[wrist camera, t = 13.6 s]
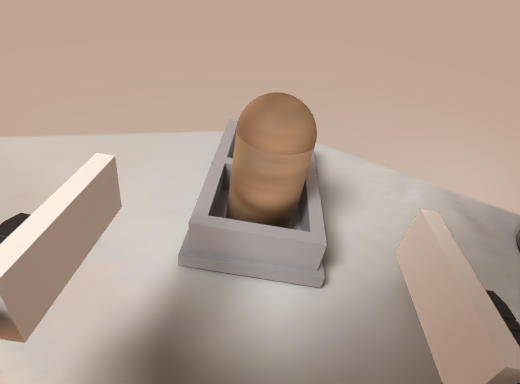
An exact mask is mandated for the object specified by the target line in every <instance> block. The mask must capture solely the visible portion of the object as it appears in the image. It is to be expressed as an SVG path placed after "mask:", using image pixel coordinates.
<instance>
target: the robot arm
mask: <svg viewBox="0 0 520 384" xmlns="http://www.w3.org/2000/svg"><path fill="white" fill-rule="evenodd" d="M121 207H122V206H121V199H120V191H119V183H118V175H117V168H116V160H115V156H113V155H107V154H101V153H96V154H95V155H94V156H93V157H92V158H91V159H90V160H88V161H87V162H86V163H85V164H84V165H83V166H82V167H81V168H80V169H79V170H78V171H77V172H76V173H75V174H74V175H73V176H72V177H71V178H69V179H68V180H67V181H66V182H65V183H64V184H63V185H62V186H61V187H60V188H59V189H58V190H57V191H56V192H55V193H54V194H53V195H52V196H50V197H49V198H48V199H47V200H46V201H45V202H44V203H43V204H42V205H41V206H40V207H39V208H38V209H37V210H36V211H35V212H34V213H33V214H25V213H20V214H18V215H16V216H14V217H12V218H10V219H8V220H6V221H4V222H3V223H2V224H0V339H5V340H11V341H17V342H23V343H25V342H26V340H27V339H28V338H29V336H30V335H31V333H32V332H33V331H34V329H35V328H36V326H37V325H38V324H39V322H40V321H41V319H42V318H43V317H44V315H45V314H46V312H47V311H48V310H49V308H50V307H51V305H52V304H53V303H54V301H55V300H56V298H57V297H58V296H59V294H60V293H61V291H62V290H63V288H64V287H65V286H66V284H67V283H68V281H69V280H70V279H71V277H72V276H73V274H74V273H75V272H76V270H77V269H78V267H79V266H80V265H81V263H82V262H83V260H84V259H85V258H86V256H87V255H88V253H89V252H90V251H91V249H92V248H93V246H94V245H95V244H96V242H97V241H98V239H99V238H100V237H101V235H102V234H103V232H104V231H105V229H106V228H107V227H108V225H109V224H110V222H111V221H112V220H113V218H114V217H115V215H116V214H117V213H118V211H119V210H120V208H121ZM517 242H518V246H519V249H520V231H519V232H518V235H517ZM395 255H396V257H397V260H398V263H399V266H400V268H401V271H402V274H403V277H404V279H405V282H406V285H407V287H408V290H409V293H410V296H411V298H412V301H413V304H414V307H415V309H416V312H417V315H418V318H419V320H420V323H421V326H422V329H423V331H424V334H425V337H426V340H427V342H428V345H429V348H430V351H431V353H432V356H433V359H434V362H435V364H436V367H437V370H438V373H439V375H440V378H441V381H442V384H520V325H519V323H518V322H516V321H515V320H516V318H515V317H514V315H513V314H512V312H511V311H510V309H509V308H508V306H507V305H506V304H505V303H504V302H503V301H502V300H501V299H500V298H499V297H498V296H497V295H496V294H495V293H494V292H493V291H489V290H485V289H484V287H483V286H482V284H481V282H480V281H479V279H478V277H477V276H476V274H475V272H474V271H473V269H472V267H471V266H470V264H469V262H468V261H467V259H466V257H465V256H464V254H463V252H462V251H461V249H460V247H459V246H458V244H457V242H456V241H455V239H454V237H453V236H452V234H451V232H450V231H449V229H448V227H447V226H446V224H445V223H444V221H443V219H442V218H441V216H440V214H439V213H438V212H437V211H431V210H425V209H420V210H419V212H418V214H417V216H416V217H415V219H414V221H413V223H412V224H411V226H410V228H409V230H408V231H407V233H406V235H405V237H404V238H403V240H402V242H401V244H400V245H399V247H398V249H397V251H396V252H395Z"/></svg>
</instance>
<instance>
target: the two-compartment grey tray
mask: <svg viewBox="0 0 520 384" xmlns="http://www.w3.org/2000/svg"><path fill="white" fill-rule="evenodd" d="M237 123H238V121H235V120H229V121H228V123H227V126H226V129H225V131H224V134H223V136H222V139H221V141H220V144H219V147H218V149H217V152H216V154H215V157H214V159H213V162H212V165H211V167H210V170H209V172H208V175H207V177H206V180H205V183H204V185H203V188H202V190H201V193H200V195H199V198H198V201H197V203H196V206H195V208H194V211H193V213H192V216H191V219H190V221H189V229H188V231H187V234H186V237H185V239H184V242H183V245H182V247H181V250H180V252H179V256H178V265H180V266H186V267H193V268H199V269H205V270H211V271H218V272H224V273H230V274H237V275H243V276H249V277H256V278H262V279H268V280H275V281H281V282H287V283H293V284H300V285H306V286H312V287H319V288H321V286H322V284H323V282H324V279H325V276H324V267H323V259H322V257H323V254H324V252H325V249H326V246H327V242H326V235H325V228H324V221H323V214H322V206H321V199H320V192H319V185H318V178H317V171H316V163H315V156H314V150H313V154H312V157H311V161H310V164H309V168H308V171H307V175H306V179H305V182H304V186H303V189H302V193H301V196H300V200H299V203H298V207H297V211H296V214H295V218H294V221H293V225H292V228H291V229H288V228H282V227H276V226H270V225H264V224H258V223H252V222H245V221H239V220H233V219H227V218H226V213H227V205H228V196H229V188H230V179H231V171H232V162H233V153H234V145H235V136H236V128H237Z"/></svg>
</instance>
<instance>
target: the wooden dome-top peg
mask: <svg viewBox="0 0 520 384" xmlns="http://www.w3.org/2000/svg"><path fill="white" fill-rule="evenodd" d="M316 136H317V130H316V124H315V120H314V118H313V115H312V113H311V112H310V110H309V109H308V107H307V106H306V105H305V104H304V103H303V102H302V101H300V100H299V99H297V98H296V97H294V96H292V95H289V94H285V93H269V94H265V95H262V96H259V97H258V98H256V99H254V100H253V101H252V102H250V103H249V104H248V105H247V106H246V108H245V109H244V110H243V112H242V113H241V116H240V118H239V120H238V123H237V128H236V136H235V145H234V153H233V162H232V171H231V179H230V188H229V196H228V205H227V213H226V218H227V219H233V220H239V221H245V222H252V223H258V224H264V225H270V226H276V227H282V228H288V229H291V228H292V225H293V221H294V218H295V214H296V211H297V207H298V203H299V200H300V196H301V193H302V189H303V186H304V182H305V179H306V175H307V171H308V168H309V164H310V161H311V157H312V154H313V150H314V147H315V143H316Z"/></svg>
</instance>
